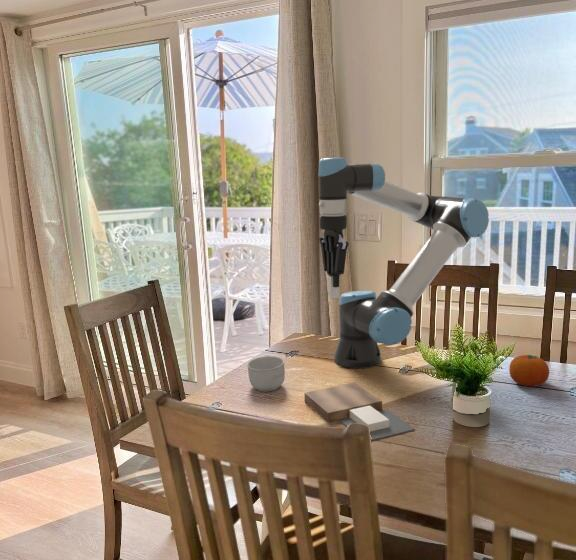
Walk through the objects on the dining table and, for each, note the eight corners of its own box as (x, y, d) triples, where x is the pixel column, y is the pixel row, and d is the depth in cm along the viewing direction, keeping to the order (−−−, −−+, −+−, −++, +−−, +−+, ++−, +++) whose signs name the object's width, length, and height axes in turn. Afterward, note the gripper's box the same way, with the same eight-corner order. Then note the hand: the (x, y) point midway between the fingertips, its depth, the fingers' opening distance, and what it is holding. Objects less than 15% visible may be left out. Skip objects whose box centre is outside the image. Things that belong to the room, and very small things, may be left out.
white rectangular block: (369, 412, 144) (369, 405, 144) (389, 427, 136) (389, 419, 136) (349, 417, 142) (349, 409, 142) (368, 432, 134) (368, 424, 134)
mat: (387, 410, 146) (387, 409, 146) (414, 429, 135) (414, 428, 135) (340, 421, 141) (340, 420, 141) (365, 442, 130) (365, 441, 130)
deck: (355, 390, 159) (355, 382, 159) (382, 409, 147) (382, 400, 146) (304, 401, 153) (304, 392, 153) (328, 422, 140) (327, 413, 140)
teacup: (280, 396, 157) (280, 369, 155) (243, 394, 159) (242, 367, 157) (290, 377, 170) (289, 352, 169) (256, 375, 172) (255, 351, 171)
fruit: (533, 394, 154) (535, 366, 152) (501, 382, 162) (502, 356, 161) (555, 385, 159) (557, 358, 158) (523, 374, 168) (525, 348, 166)
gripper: (310, 213, 158) (312, 294, 163) (332, 217, 147) (333, 304, 151) (333, 212, 161) (334, 291, 166) (356, 215, 149) (357, 300, 154)
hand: (334, 297), depth 159 cm, fingers closed
